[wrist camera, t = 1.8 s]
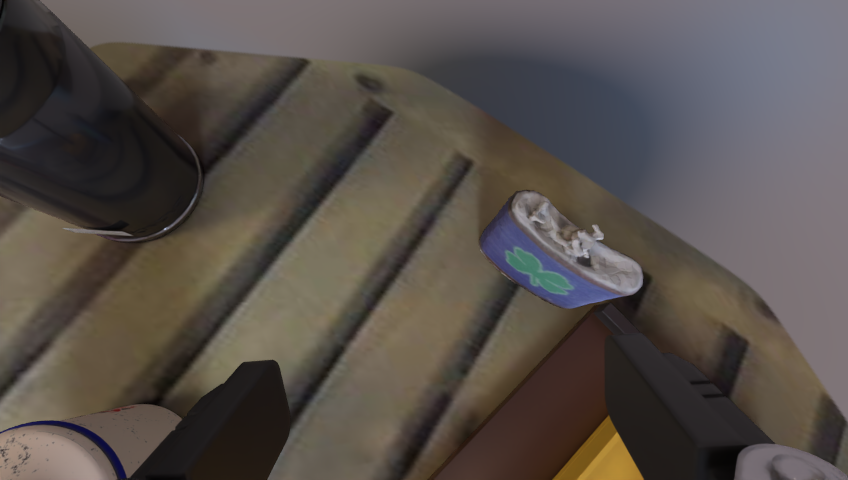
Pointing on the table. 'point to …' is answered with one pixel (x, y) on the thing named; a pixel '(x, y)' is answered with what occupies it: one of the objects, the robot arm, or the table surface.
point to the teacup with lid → (85, 444)
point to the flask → (556, 254)
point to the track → (544, 409)
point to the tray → (601, 458)
